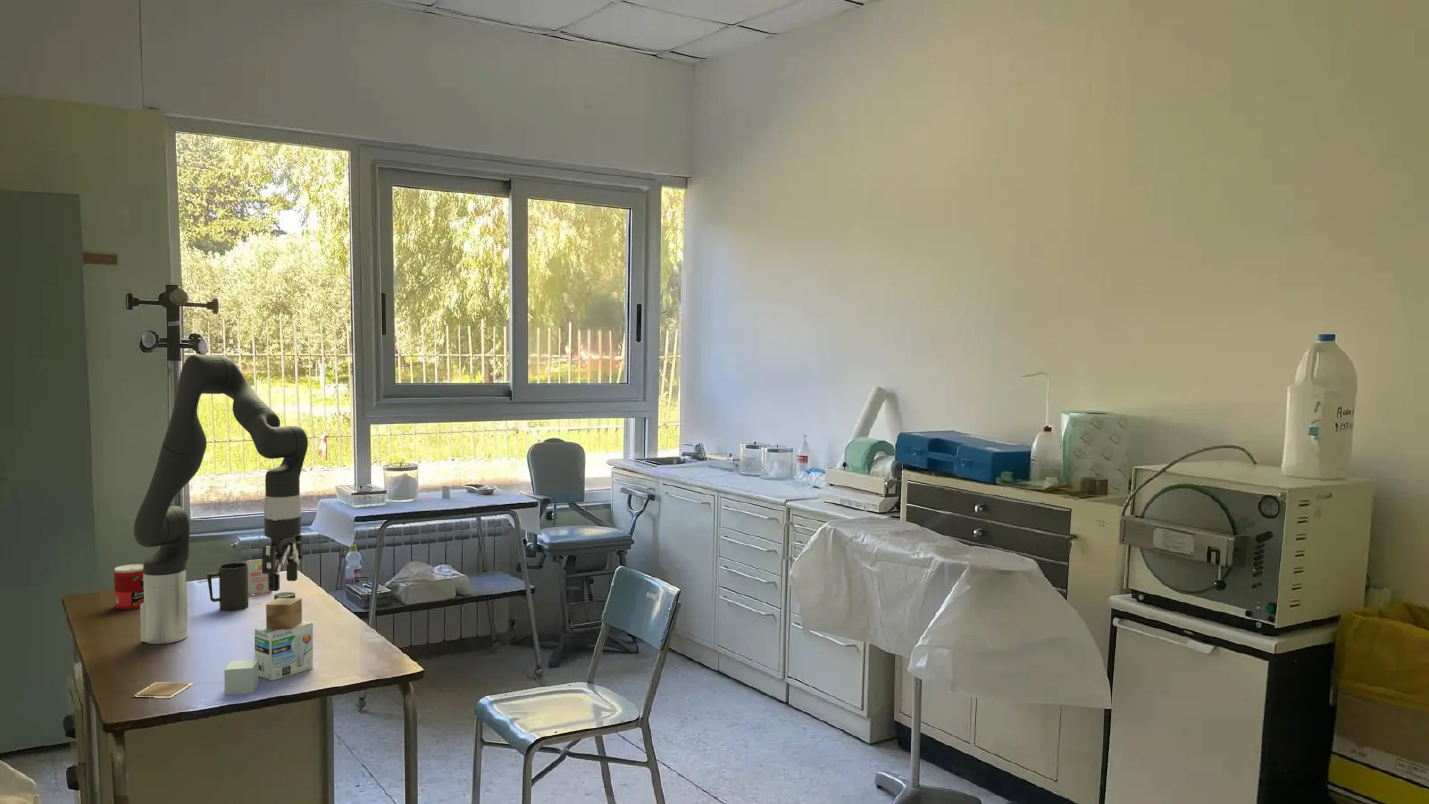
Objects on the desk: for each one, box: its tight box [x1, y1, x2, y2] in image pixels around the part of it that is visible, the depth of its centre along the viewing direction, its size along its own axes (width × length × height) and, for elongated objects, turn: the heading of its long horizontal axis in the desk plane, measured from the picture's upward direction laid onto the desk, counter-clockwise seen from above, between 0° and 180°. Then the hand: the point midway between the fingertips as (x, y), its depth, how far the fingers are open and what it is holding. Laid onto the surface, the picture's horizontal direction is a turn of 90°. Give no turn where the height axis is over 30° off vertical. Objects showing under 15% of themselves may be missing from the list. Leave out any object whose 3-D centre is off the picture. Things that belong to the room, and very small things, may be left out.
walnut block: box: [265, 597, 303, 629], centre depth 212 cm, size 6×6×6 cm
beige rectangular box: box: [244, 558, 273, 596], centre depth 278 cm, size 4×7×10 cm, turn 122°
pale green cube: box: [223, 659, 260, 695], centre depth 202 cm, size 6×6×6 cm
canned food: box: [113, 563, 144, 610], centre depth 263 cm, size 8×8×11 cm
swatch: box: [134, 681, 194, 699], centre depth 200 cm, size 8×8×1 cm
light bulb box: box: [254, 619, 314, 681], centre depth 213 cm, size 11×7×11 cm, turn 148°
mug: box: [206, 562, 249, 612], centre depth 261 cm, size 10×7×12 cm
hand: (283, 585), depth 212 cm, fingers open, 8 cm apart
